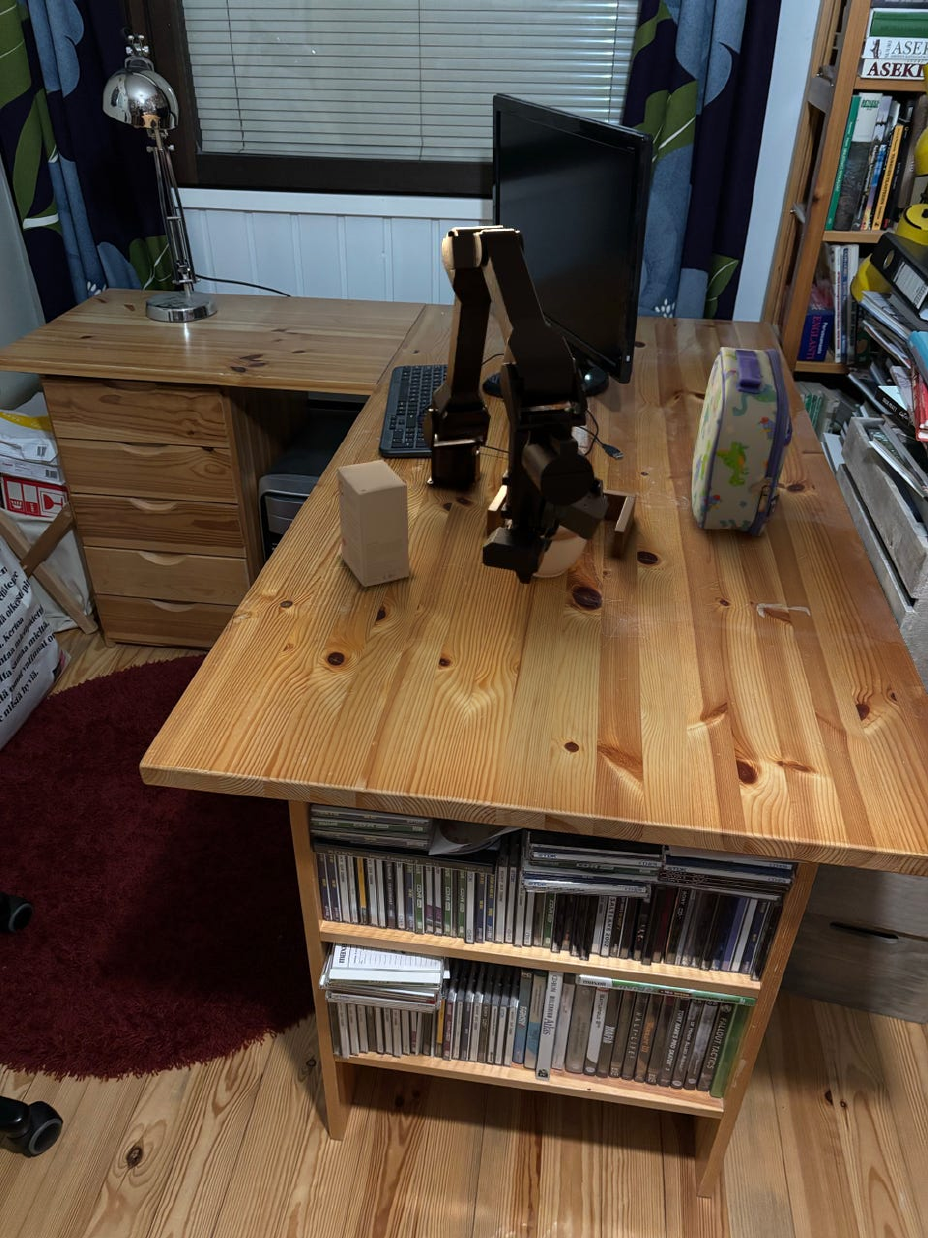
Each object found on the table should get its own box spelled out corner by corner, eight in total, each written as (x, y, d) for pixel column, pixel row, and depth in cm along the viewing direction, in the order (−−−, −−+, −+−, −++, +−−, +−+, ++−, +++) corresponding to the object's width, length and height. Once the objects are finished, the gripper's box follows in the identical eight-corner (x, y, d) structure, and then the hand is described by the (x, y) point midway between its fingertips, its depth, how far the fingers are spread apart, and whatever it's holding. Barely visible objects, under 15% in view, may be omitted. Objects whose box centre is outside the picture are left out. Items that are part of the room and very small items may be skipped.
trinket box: (498, 545, 125) (500, 482, 120) (576, 543, 126) (583, 480, 121) (507, 589, 116) (511, 523, 111) (592, 586, 117) (600, 521, 112)
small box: (410, 577, 118) (408, 484, 111) (363, 588, 116) (358, 495, 109) (386, 547, 124) (383, 457, 117) (341, 557, 122) (334, 467, 114)
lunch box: (771, 551, 125) (806, 402, 113) (690, 542, 127) (716, 395, 115) (758, 467, 146) (786, 334, 134) (688, 461, 148) (710, 329, 136)
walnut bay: (486, 535, 127) (487, 509, 125) (507, 499, 136) (508, 474, 134) (620, 558, 123) (623, 531, 121) (633, 519, 132) (636, 493, 130)
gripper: (590, 513, 93) (576, 639, 102) (620, 439, 108) (606, 555, 117) (482, 496, 96) (478, 620, 105) (527, 426, 110) (520, 540, 119)
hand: (525, 582), depth 111 cm, fingers closed
